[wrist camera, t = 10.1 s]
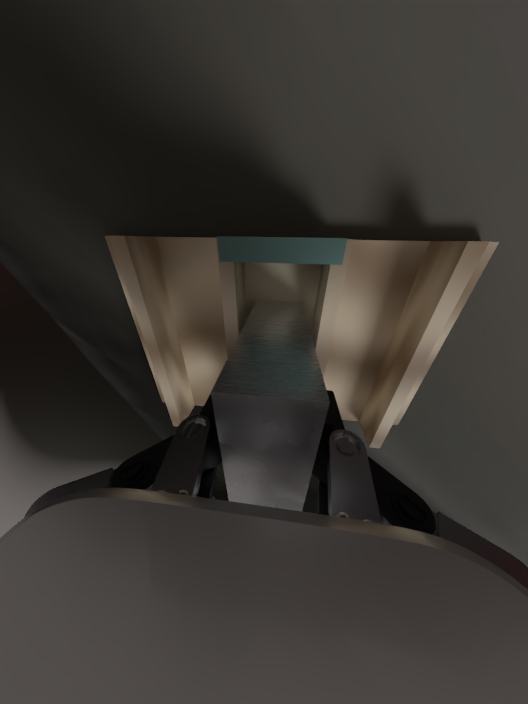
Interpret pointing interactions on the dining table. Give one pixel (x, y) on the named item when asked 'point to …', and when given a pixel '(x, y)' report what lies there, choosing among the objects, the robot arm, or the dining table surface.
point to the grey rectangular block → (270, 408)
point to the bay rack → (319, 304)
